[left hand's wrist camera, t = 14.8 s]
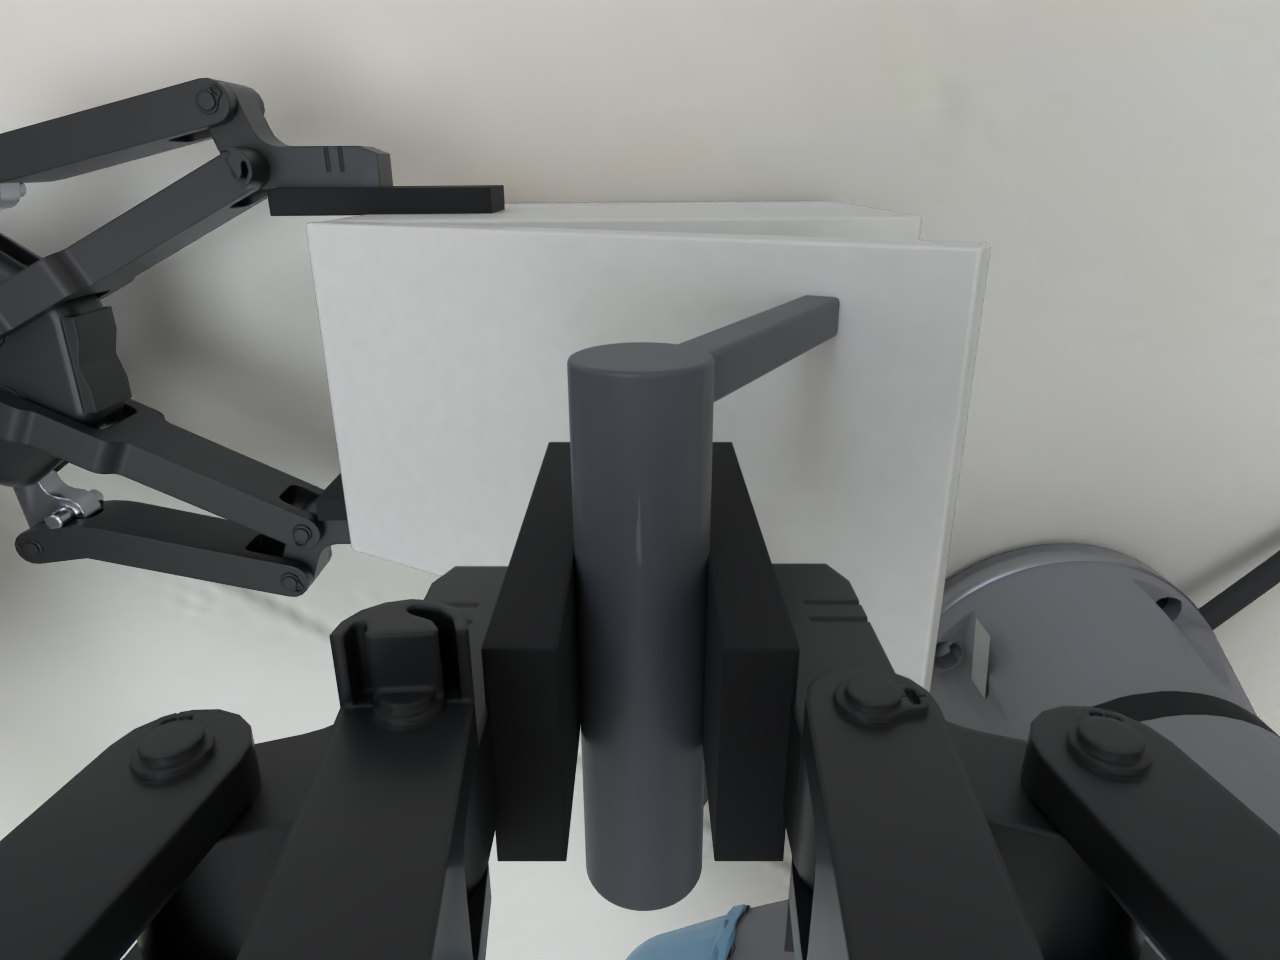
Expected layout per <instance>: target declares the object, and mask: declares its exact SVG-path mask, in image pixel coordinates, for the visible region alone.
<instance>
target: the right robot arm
mask: <svg viewBox="0 0 1280 960" xmlns="http://www.w3.org/2000/svg"><path fill="white" fill-rule="evenodd" d="M264 112H265V108H264V103H263V101H262V99H261V97H260V95H259V94H258V93H257V92H256V91H254V90H253V89H252V88H249V87H246V86H243V85H238V84H233V83H229V82H224V81H219V80H214V79H210V78H199V79H196V80H192V81H188V82H185V83H181V84H178V85H174V86H170V87H167V88H163V89H160V90H156V91H153V92H149V93H145V94H142V95H138V96H135V97H131V98H127V99H124V100H120V101H117V102H113V103H109V104H106V105H102V106H99V107H95V108H92V109H88V110H84V111H81V112H77V113H74V114H70V115H66V116H63V117H59V118H56V119H52V120H49V121H45V122H41V123H38V124H34V125H31V126H27V127H23V128H20V129H16V130H13V131H9V132H5V133H2V134H0V210H1V209H6V208H11V207H13V206H15V205H16V204H17V203H18V202H19V200H20V197H22V196H24V195H25V193H26V187H25V184H24V183H33V182H50V181H56V180H61V179H66V178H70V177H73V176H77V175H81V174H84V173H88V172H92V171H95V170H99V169H103V168H106V167H110V166H114V165H117V164H121V163H125V162H128V161H132V160H136V159H139V158H143V157H147V156H150V155H154V154H158V153H161V152H165V151H169V150H172V149H176V148H180V147H183V146H187V145H191V144H194V143H198V142H202V141H205V140H209V139H213V140H214V142H215V144H216V146H217V148H218V150H219V152H220V155H219V156H217V157H215V158H214V159H212V160H211V161H209V162H207V163H206V164H204V165H202V166H201V167H199V168H197V169H196V170H194V171H193V172H191V173H189V174H188V175H186V176H184V177H183V178H181V179H179V180H178V181H176V182H174V183H173V184H171V185H170V186H168V187H166V188H165V189H163V190H161V191H160V192H158V193H156V194H155V195H153V196H152V197H150V198H148V199H147V200H145V201H143V202H142V203H140V204H138V205H137V206H135V207H133V208H132V209H130V210H129V211H127V212H125V213H124V214H122V215H120V216H119V217H117V218H115V219H114V220H112V221H111V222H109V223H107V224H106V225H104V226H102V227H101V228H99V229H97V230H96V231H94V232H92V233H91V234H89V235H88V236H86V237H84V238H83V239H81V240H79V241H78V242H76V243H74V244H73V245H71V246H70V247H68V248H66V249H64V250H62V251H60V252H57V253H54V254H52V255H49V256H47V257H44V258H41V257H39V256H38V255H36V254H34V253H33V252H31V251H29V250H28V249H26V248H25V247H23V246H21V245H20V244H18V243H16V242H15V241H13V240H12V239H10V238H8V237H7V236H5V235H3V234H2V233H0V484H1V485H4V486H9V487H13V489H14V491H15V493H16V496H17V498H18V501H19V503H20V505H21V508H22V510H23V512H24V515H25V517H26V520H27V522H28V524H29V527H30V528H29V529H28V530H26V531H24V532H23V533H21V534H20V535H19V536H18V537H17V538H16V541H15V547H16V551H17V552H18V554H19V555H20V556H21V557H22V558H23V559H25V560H26V561H28V562H31V563H38V564H41V563H49V562H58V561H66V560H74V559H83V558H90V559H95V560H100V561H106V562H111V563H116V564H121V565H127V566H132V567H137V568H142V569H148V570H153V571H158V572H163V573H169V574H174V575H179V576H184V577H190V578H195V579H200V580H205V581H211V582H216V583H221V584H226V585H232V586H237V587H242V588H247V589H253V590H258V591H263V592H268V593H274V594H279V595H284V596H289V597H297V596H300V595H302V594H303V593H304V592H306V591H307V589H308V588H309V587H310V585H311V584H312V583H313V581H314V580H315V579H316V578H317V576H318V575H319V574H320V572H321V571H322V570H323V568H324V567H325V566H326V564H327V563H328V562H329V561H330V558H331V556H332V553H331V545H333V544H351V540H350V533H349V526H348V519H347V512H346V505H345V498H344V491H343V484H342V477H341V473H340V474H339V475H338V476H337V478H336V479H335V480H334V481H333V482H332V483H331V484H330V485H329V486H328V487H327V488H326V489H325V490H323V489H321V488H319V487H316V486H314V485H312V484H309V483H307V482H305V481H302V480H300V479H298V478H295V477H293V476H291V475H288V474H286V473H284V472H282V471H279V470H277V469H275V468H272V467H270V466H268V465H265V464H263V463H261V462H258V461H256V460H254V459H251V458H249V457H247V456H244V455H242V454H240V453H238V452H235V451H233V450H231V449H228V448H226V447H224V446H221V445H219V444H217V443H214V442H212V441H210V440H207V439H205V438H203V437H200V436H198V435H196V434H194V433H191V432H189V431H187V430H184V429H182V428H180V427H177V426H175V425H173V424H170V423H168V422H167V421H166V420H165V418H164V415H163V414H162V413H160V412H159V411H157V410H155V409H152V408H150V407H148V406H145V405H143V404H141V403H138V402H136V401H134V400H132V399H129V398H131V397H132V395H131V391H130V386H129V382H128V378H127V375H126V373H125V371H124V369H123V367H122V365H121V363H120V361H119V359H118V357H117V355H116V325H115V321H114V317H113V312H112V308H111V307H103V305H102V304H101V302H100V300H101V299H103V298H105V297H106V296H108V295H110V294H111V293H113V292H115V291H116V290H118V289H120V288H122V287H123V286H125V285H127V284H128V283H130V282H131V281H133V280H134V277H135V276H137V275H138V274H140V273H142V272H143V271H145V270H147V269H148V268H150V267H152V266H153V265H155V264H157V263H158V262H160V261H162V260H164V259H165V258H167V257H169V256H170V255H172V254H174V253H175V252H177V251H179V250H180V249H182V248H184V247H185V246H187V245H189V244H190V243H192V242H194V241H196V240H197V239H199V238H201V237H202V236H204V235H206V234H207V233H209V232H211V231H212V230H214V229H216V228H217V227H219V226H221V225H222V224H224V223H226V222H228V221H229V220H231V219H233V218H234V217H236V216H238V215H239V214H241V213H243V212H244V211H246V210H248V209H249V208H251V207H253V206H254V205H256V204H258V203H260V202H261V201H263V200H265V199H266V198H268V201H269V207H270V214H271V216H318V215H370V214H492V213H495V212H498V211H501V210H504V209H505V204H504V188H503V185H483V186H393V180H392V170H391V161H390V154H389V153H386V152H384V151H381V150H379V149H376V148H374V147H365V146H288V145H285V144H284V143H282V142H281V141H279V140H278V139H277V138H276V137H275V136H274V134H273V132H272V131H271V129H270V127H269V125H268V123H267V121H266V119H265V117H264ZM67 463H72V464H74V465H76V466H79V467H81V468H84V469H86V470H88V471H91V472H94V473H99V474H119V475H122V476H125V477H127V478H129V479H132V480H134V481H137V482H139V483H141V484H144V485H146V486H149V487H151V488H153V489H156V490H158V491H161V492H163V493H165V494H168V495H170V496H173V497H175V498H177V499H180V500H182V501H185V502H187V503H189V504H192V505H194V506H197V507H199V508H201V509H204V510H206V511H208V512H211V513H213V514H216V515H218V516H220V517H223V518H225V519H221V518H216V517H211V516H206V515H201V514H196V513H191V512H186V511H181V510H176V509H170V508H165V507H160V506H155V505H150V504H145V503H140V502H133V501H121V500H111V501H103V495H102V494H101V493H100V492H99V491H98V490H89V491H87V490H85V489H78V488H73V487H70V486H68V485H66V484H65V483H64V482H63V481H62V480H61V479H60V478H59V476H58V474H57V472H58V471H59V470H60V469H62V468H63V467H64V466H65V465H66V464H67ZM226 519H228V520H226Z"/></svg>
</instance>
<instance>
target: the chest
mask: <svg viewBox="0 0 1280 960" xmlns="http://www.w3.org/2000/svg"><path fill="white" fill-rule="evenodd" d="M504 204H505V209H504V210H501V211H498V212H495V213H492V214H370V215H360V216H354V217H348V218H342V219H336V220H332V221H353V222H383V223H413V224H443V225H473V226H504V227H534V228H564V229H594V230H624V231H654V232H684V233H714V234H744V235H774V236H804V237H834V238H864V239H894V240H920V233H921V223H922V218H921V217H920V216H916V215H910V214H904V213H898V212H892V211H887V210H881V209H875V208H869V207H863V206H857V205H852V204H846V203H840V202H834V201H773V202H634V203H504Z"/></svg>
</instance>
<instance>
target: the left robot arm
mask: <svg viewBox="0 0 1280 960" xmlns="http://www.w3.org/2000/svg"><path fill="white" fill-rule="evenodd" d="M1279 582H1280V551H1278V552H1277V553H1275V554H1274V555H1273V556H1271V557H1270V558H1269V559H1267V560H1266V561H1265V562H1263V563H1262V564H1260V565H1259V566H1258V567H1256V568H1255V569H1254V570H1252V571H1251V572H1249V573H1248V574H1247V575H1245V576H1244V577H1243V578H1241V579H1240V580H1238V581H1237V582H1236V583H1234V584H1233V585H1231V586H1230V587H1229V588H1227V589H1226V590H1224V591H1223V592H1222V593H1220V594H1219V595H1218V596H1216V597H1215V598H1213V599H1212V600H1211V601H1209V602H1208V603H1206V604H1205V605H1204V606H1202V607H1201V608H1199V609H1198V608H1197V607H1196V606H1195V605H1194V604H1193V602H1192V601H1191V600H1190V599H1189V598H1187V597H1186V596H1185V595H1184V594H1183V593H1182V592H1181V591H1180V590H1178V589H1177V588H1176V587H1175V586H1173V585H1172V584H1171V583H1169V582H1168V581H1167V580H1165V579H1164V578H1163V577H1162V576H1160V575H1159V574H1158V573H1156V572H1155V571H1154V570H1152V569H1151V568H1149V567H1148V566H1146V565H1144V564H1143V563H1141V562H1139V561H1137V560H1136V559H1133V558H1131V557H1129V556H1127V555H1124V554H1122V553H1119V552H1115V551H1112V550H1109V549H1105V548H1100V547H1095V546H1090V545H1080V544H1048V545H1038V546H1032V547H1026V548H1021V549H1017V550H1013V551H1009V552H1006V553H1003V554H1000V555H997V556H994V557H991V558H989V559H987V560H984V561H982V562H980V563H977V564H975V565H973V566H971V567H969V568H968V569H966V570H964V571H962V572H960V573H959V574H957V575H955V576H954V577H952V578H951V579H949V580H948V581H946V582H945V584H944V592H943V599H942V606H941V614H940V621H939V628H938V635H937V643H936V650H935V657H934V664H933V672H932V679H931V686H930V693H929V692H928V691H927V690H926V689H924V688H923V687H921V686H920V685H918V684H917V683H915V682H914V681H912V680H911V679H909V678H907V677H904V676H901V675H899V674H896V673H895V671H894V669H893V667H892V665H891V663H890V661H889V659H888V657H887V655H886V653H885V651H884V649H883V647H882V645H881V643H880V641H879V639H878V637H877V635H876V633H875V631H874V629H873V627H872V625H871V623H870V622H868V620H867V619H868V617H867V615H866V613H865V611H864V609H863V607H862V605H859V599H858V597H857V595H856V593H855V591H854V589H853V587H852V585H851V583H850V581H849V580H847V579H846V578H845V577H843V576H842V575H841V574H839V573H838V572H837V571H835V570H834V569H833V568H831V567H830V566H829V565H827V564H808V563H771V559H770V556H769V553H768V550H767V547H766V544H765V541H764V538H763V535H762V532H761V529H760V526H759V523H758V520H757V517H756V514H755V511H754V508H753V505H752V502H751V499H750V496H749V493H748V489H747V486H746V483H745V480H744V477H743V474H742V471H741V468H740V465H739V462H738V459H737V456H736V453H735V450H734V447H733V444H732V442H713V445H712V485H711V525H710V553H709V556H708V568H707V601H706V635H705V668H704V702H703V735H702V746H703V756H704V765H705V774H706V784H707V793H708V803H709V812H710V822H711V831H712V841H713V850H714V859H715V861H783V855H784V842H785V830H787V834H788V839H789V843H790V848H791V852H792V865H791V877H790V889H789V899H788V900H784V901H780V902H775V903H771V904H767V905H763V906H758V907H754V908H751V907H750V906H749V905H747V906H746V905H740V906H734V907H733V908H732V909H731V910H730V911H729V913H728V914H727V915H724V916H721V917H718V918H714V919H711V920H708V921H704V922H701V923H697V924H694V925H691V926H687V927H684V928H681V929H677V930H674V931H670V932H667V933H664V934H660V935H657V936H655V937H652V938H650V939H648V940H647V941H645V942H644V943H642V944H641V945H640V946H638V947H637V948H636V949H635V950H634V951H633V952H632V953H631V954H630V955H629V956H628V957H627V959H626V960H1280V736H1278V735H1277V734H1276V733H1275V732H1274V731H1273V730H1272V729H1271V728H1269V727H1268V726H1267V725H1266V724H1265V723H1264V722H1263V721H1262V720H1260V719H1259V718H1258V717H1257V715H1256V713H1255V711H1254V709H1253V708H1252V706H1251V704H1250V702H1249V700H1248V698H1247V696H1246V694H1245V692H1244V690H1243V688H1242V686H1241V684H1240V683H1239V681H1238V679H1237V677H1236V675H1235V673H1234V671H1233V669H1232V667H1231V665H1230V663H1229V661H1228V659H1227V658H1226V656H1225V654H1224V652H1223V650H1222V648H1221V646H1220V644H1219V642H1218V640H1217V638H1216V636H1215V634H1214V633H1213V631H1212V630H1214V629H1215V628H1216V627H1218V626H1219V625H1221V624H1222V623H1223V622H1225V621H1226V620H1228V619H1229V618H1230V617H1232V616H1233V615H1235V614H1236V613H1237V612H1239V611H1240V610H1242V609H1243V608H1244V607H1246V606H1247V605H1249V604H1250V603H1251V602H1253V601H1254V600H1256V599H1257V598H1258V597H1260V596H1261V595H1263V594H1264V593H1265V592H1267V591H1268V590H1269V589H1271V588H1272V587H1274V586H1275V585H1276V584H1278V583H1279ZM330 642H331V648H332V655H333V661H334V668H335V674H336V681H337V687H338V694H339V700H340V707H341V708H340V710H339V712H338V715H337V717H336V720H335V722H334V724H333V725H331V726H329V727H326V728H324V729H321V730H317V731H313V732H310V733H306V734H302V735H298V736H293V737H288V738H283V739H278V740H273V741H268V742H263V743H259V744H254V740H253V735H252V730H251V726H250V725H249V724H248V723H247V722H246V721H245V720H244V719H243V718H242V717H241V716H240V715H238V714H234V713H231V712H227V711H223V710H220V709H214V710H191V711H185V712H180V713H178V714H176V713H174V714H171V715H167V716H164V717H161V718H159V719H157V720H155V721H152V722H150V723H148V724H145V725H143V726H141V727H138V728H136V729H134V730H133V731H131V732H130V733H128V734H127V735H125V736H124V737H122V738H121V739H119V740H118V741H116V742H115V743H113V744H112V745H111V746H109V747H108V748H107V749H106V750H105V751H104V752H102V753H101V754H100V755H99V756H98V757H97V758H96V759H94V760H93V761H92V762H91V763H90V764H89V765H87V766H86V767H85V768H84V769H83V770H82V771H81V772H79V773H78V774H77V775H76V776H75V777H74V778H73V779H71V780H70V781H69V782H68V783H67V784H66V785H64V786H63V787H62V788H61V789H60V790H59V791H58V792H56V793H55V794H54V795H53V796H52V797H51V798H49V799H48V800H47V801H46V802H45V803H44V804H43V805H41V806H40V807H39V808H38V809H37V810H36V811H35V812H33V813H32V814H31V815H30V816H29V817H28V818H26V819H25V820H24V821H23V822H22V823H21V824H20V825H18V826H17V827H16V828H15V829H14V830H13V831H11V832H10V833H9V834H8V835H7V836H6V837H5V838H3V839H2V840H1V841H0V960H120V959H121V957H122V956H123V955H124V954H125V953H126V951H127V950H128V949H129V948H130V947H131V945H132V944H133V943H134V942H135V941H136V939H137V943H136V944H135V945H134V947H133V948H132V949H131V950H130V951H129V953H128V954H127V955H126V956H125V958H123V959H122V960H485V956H486V946H487V936H488V926H489V916H490V906H491V889H490V877H489V865H488V861H489V856H490V852H491V847H492V842H493V838H494V833H495V831H496V844H497V857H498V861H566V858H567V849H568V839H569V830H570V820H571V811H572V801H573V792H574V782H575V773H576V764H577V754H578V745H579V735H580V726H581V714H580V688H579V662H578V636H577V610H576V584H575V558H574V532H573V506H572V480H571V454H570V442H549V443H548V446H547V449H546V452H545V455H544V459H543V462H542V465H541V468H540V471H539V474H538V477H537V480H536V483H535V486H534V489H533V492H532V495H531V498H530V501H529V504H528V507H527V510H526V513H525V517H524V520H523V523H522V526H521V529H520V532H519V535H518V538H517V541H516V544H515V547H514V550H513V553H512V556H511V559H510V562H509V565H508V566H455V567H453V568H452V569H451V570H449V571H448V572H447V573H445V574H444V575H443V576H441V577H440V578H439V579H437V580H436V581H435V582H433V583H432V584H431V586H430V589H429V591H428V593H427V595H426V597H425V599H424V600H415V599H410V600H402V601H394V602H387V603H383V604H380V605H377V606H374V607H370V608H367V609H364V610H361V611H359V612H358V613H356V614H354V615H353V616H351V617H349V618H347V619H346V620H344V621H342V622H341V623H340V624H339V625H338V627H337V628H336V629H335V630H334V631H333V632H332V633H331V635H330Z"/></svg>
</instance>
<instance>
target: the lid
mask: <svg viewBox="0 0 1280 960" xmlns="http://www.w3.org/2000/svg"><path fill="white" fill-rule="evenodd" d="M306 232H307V239H308V246H309V253H310V260H311V267H312V274H313V281H314V288H315V295H316V302H317V309H318V316H319V323H320V330H321V337H322V344H323V351H324V358H325V365H326V372H327V379H328V386H329V393H330V400H331V407H332V414H333V421H334V428H335V435H336V442H337V449H338V456H339V463H340V470H341V477H342V484H343V491H344V498H345V505H346V512H347V519H348V526H349V533H350V540H351V547H352V549H353V550H355V551H358V552H361V553H365V554H368V555H371V556H375V557H378V558H382V559H385V560H388V561H392V562H395V563H399V564H402V565H405V566H409V567H412V568H416V569H419V570H422V571H426V572H429V573H432V574H436V575H439V576H443V575H444V574H445V573H447V572H448V571H449V570H451V569H452V568H453V567H455V566H508V565H509V562H510V559H511V556H512V553H513V550H514V547H515V544H516V541H517V538H518V535H519V532H520V529H521V526H522V523H523V520H524V517H525V513H526V510H527V507H528V504H529V501H530V498H531V495H532V492H533V489H534V486H535V483H536V480H537V477H538V474H539V471H540V468H541V465H542V462H543V459H544V455H545V452H546V449H547V446H548V443H549V442H570V454H571V480H572V506H573V532H574V558H575V584H576V610H577V636H578V662H579V688H580V714H581V740H582V766H583V792H584V818H585V844H586V868H587V874H588V876H589V879H590V881H591V883H592V885H593V886H594V888H595V889H596V890H597V892H598V893H599V894H600V895H601V896H602V897H604V898H605V899H606V900H608V901H609V902H611V903H613V904H615V905H617V906H620V907H623V908H626V909H630V910H637V911H650V910H657V909H662V908H665V907H668V906H671V905H673V904H675V903H677V902H679V901H680V900H682V899H683V898H684V897H686V896H687V895H688V894H689V893H690V892H691V890H692V889H693V888H694V886H695V885H696V883H697V881H698V879H699V877H700V874H701V869H702V842H703V806H704V805H705V803H706V802H707V801H708V793H707V784H706V774H705V765H704V756H703V746H702V735H703V702H704V668H705V635H706V601H707V568H708V556H709V553H710V525H711V485H712V445H713V442H732V444H733V447H734V450H735V453H736V456H737V459H738V462H739V465H740V468H741V471H742V474H743V477H744V480H745V483H746V486H747V489H748V493H749V496H750V499H751V502H752V505H753V508H754V511H755V514H756V517H757V520H758V523H759V526H760V529H761V532H762V535H763V538H764V541H765V544H766V547H767V550H768V553H769V556H770V559H771V563H808V564H827V565H829V566H830V567H831V568H833V569H834V570H835V571H837V572H838V573H839V574H841V575H842V576H843V577H845V578H846V579H847V580H849V581H850V583H851V585H852V587H853V589H854V591H855V593H856V595H857V597H858V599H859V605H862V607H863V609H864V611H865V613H866V615H867V617H868V619H867V620H868V622H870V623H871V625H872V627H873V629H874V631H875V633H876V635H877V637H878V639H879V641H880V643H881V645H882V647H883V649H884V651H885V653H886V655H887V657H888V659H889V661H890V663H891V665H892V667H893V669H894V671H895V673H896V674H899V675H901V676H904V677H907V678H909V679H911V680H912V681H914V682H915V683H917V684H918V685H920V686H921V687H923V688H924V689H926V690H927V691H928V692H929V693H930V686H931V679H932V672H933V664H934V657H935V650H936V643H937V635H938V628H939V621H940V614H941V606H942V599H943V592H944V584H945V577H946V570H947V563H948V555H949V548H950V541H951V533H952V526H953V519H954V512H955V504H956V497H957V490H958V483H959V475H960V468H961V461H962V453H963V446H964V439H965V432H966V424H967V417H968V410H969V403H970V395H971V388H972V381H973V373H974V366H975V359H976V352H977V344H978V337H979V330H980V322H981V315H982V308H983V301H984V293H985V286H986V279H987V272H988V264H989V257H990V250H991V247H990V244H988V243H985V242H954V241H924V240H894V239H864V238H834V237H804V236H774V235H744V234H714V233H684V232H654V231H624V230H594V229H564V228H534V227H504V226H473V225H443V224H413V223H383V222H353V221H326V222H311V223H308V224H306Z"/></svg>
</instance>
